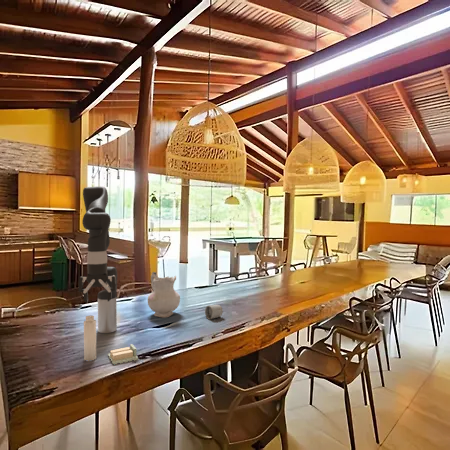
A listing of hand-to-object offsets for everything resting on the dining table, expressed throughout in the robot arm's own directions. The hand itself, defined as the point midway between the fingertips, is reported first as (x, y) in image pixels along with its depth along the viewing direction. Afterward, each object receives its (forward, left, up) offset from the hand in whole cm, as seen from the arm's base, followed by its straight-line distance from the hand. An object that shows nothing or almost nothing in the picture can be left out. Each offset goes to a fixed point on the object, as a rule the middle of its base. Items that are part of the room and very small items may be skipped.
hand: (97, 301), depth 143 cm
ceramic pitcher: (-51, +47, -26) cm, 74 cm away
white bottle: (-6, -2, -26) cm, 26 cm away
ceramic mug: (-30, +70, -26) cm, 80 cm away
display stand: (0, +10, -26) cm, 27 cm away
